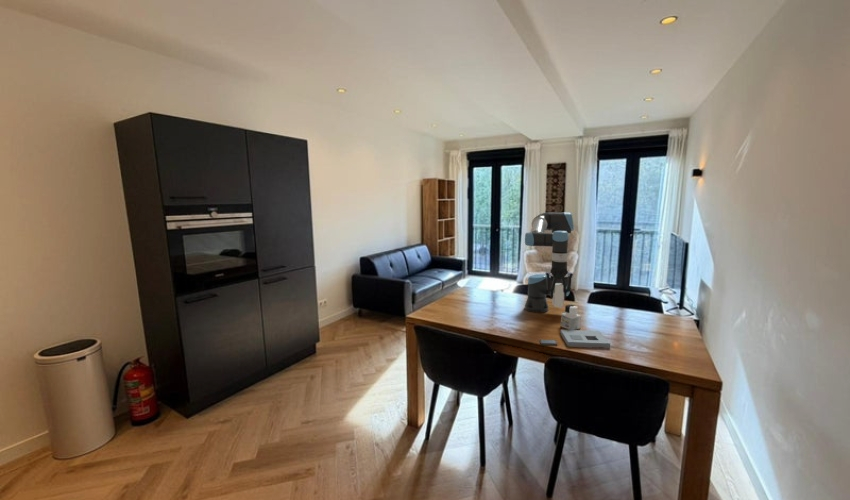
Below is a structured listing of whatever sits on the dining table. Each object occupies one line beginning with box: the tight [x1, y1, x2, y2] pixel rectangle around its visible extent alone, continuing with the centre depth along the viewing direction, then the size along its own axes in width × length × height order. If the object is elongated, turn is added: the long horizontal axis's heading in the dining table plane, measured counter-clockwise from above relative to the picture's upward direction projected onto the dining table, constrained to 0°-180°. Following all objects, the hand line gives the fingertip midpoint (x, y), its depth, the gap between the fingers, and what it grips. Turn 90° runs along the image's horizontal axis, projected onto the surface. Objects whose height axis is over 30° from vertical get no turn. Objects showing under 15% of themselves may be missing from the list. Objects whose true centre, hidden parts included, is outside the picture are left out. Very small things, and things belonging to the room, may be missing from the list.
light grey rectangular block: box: [553, 283, 564, 308], centre depth 181 cm, size 4×4×12 cm
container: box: [560, 304, 582, 330], centre depth 197 cm, size 8×8×13 cm
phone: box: [539, 339, 558, 346], centre depth 178 cm, size 4×8×1 cm, turn 81°
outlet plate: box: [560, 329, 611, 349], centre depth 180 cm, size 16×20×3 cm
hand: (557, 303), depth 182 cm, fingers closed on light grey rectangular block, 4 cm apart
